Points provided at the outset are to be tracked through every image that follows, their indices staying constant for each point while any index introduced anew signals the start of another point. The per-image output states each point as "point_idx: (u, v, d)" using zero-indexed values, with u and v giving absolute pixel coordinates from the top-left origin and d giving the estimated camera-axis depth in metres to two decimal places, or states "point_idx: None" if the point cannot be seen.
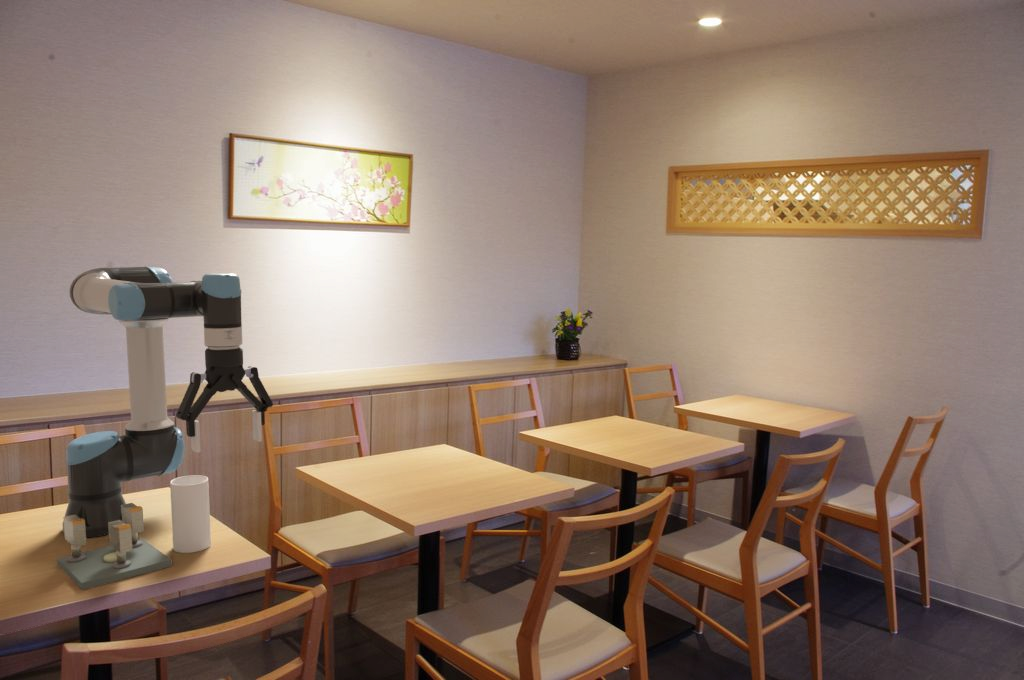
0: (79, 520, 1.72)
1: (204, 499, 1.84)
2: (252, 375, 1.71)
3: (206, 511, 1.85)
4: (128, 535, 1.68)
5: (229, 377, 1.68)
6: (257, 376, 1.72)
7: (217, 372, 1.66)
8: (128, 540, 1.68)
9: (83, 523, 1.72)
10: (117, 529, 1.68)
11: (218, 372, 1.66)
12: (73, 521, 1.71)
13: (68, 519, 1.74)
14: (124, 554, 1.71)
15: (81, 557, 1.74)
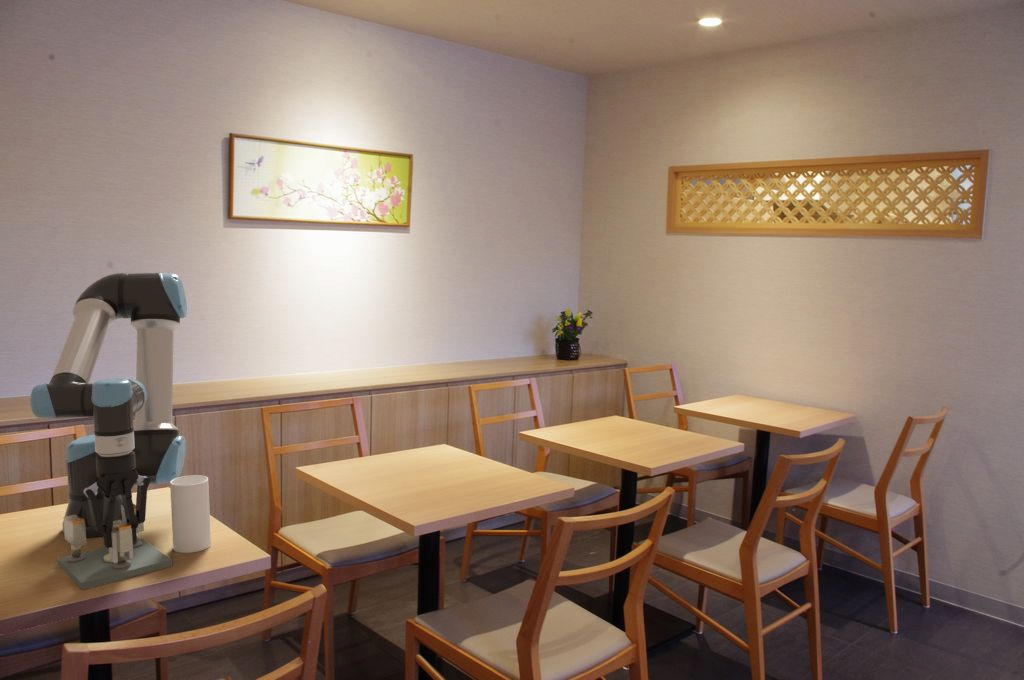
0: (79, 520, 1.72)
1: (204, 499, 1.84)
2: (142, 484, 1.72)
3: (206, 511, 1.85)
4: (128, 535, 1.68)
5: (122, 480, 1.69)
6: (146, 487, 1.73)
7: (105, 477, 1.66)
8: (128, 540, 1.68)
9: (83, 523, 1.72)
10: (117, 529, 1.68)
11: (106, 476, 1.66)
12: (73, 521, 1.71)
13: (68, 519, 1.74)
14: (124, 554, 1.71)
15: (81, 557, 1.74)
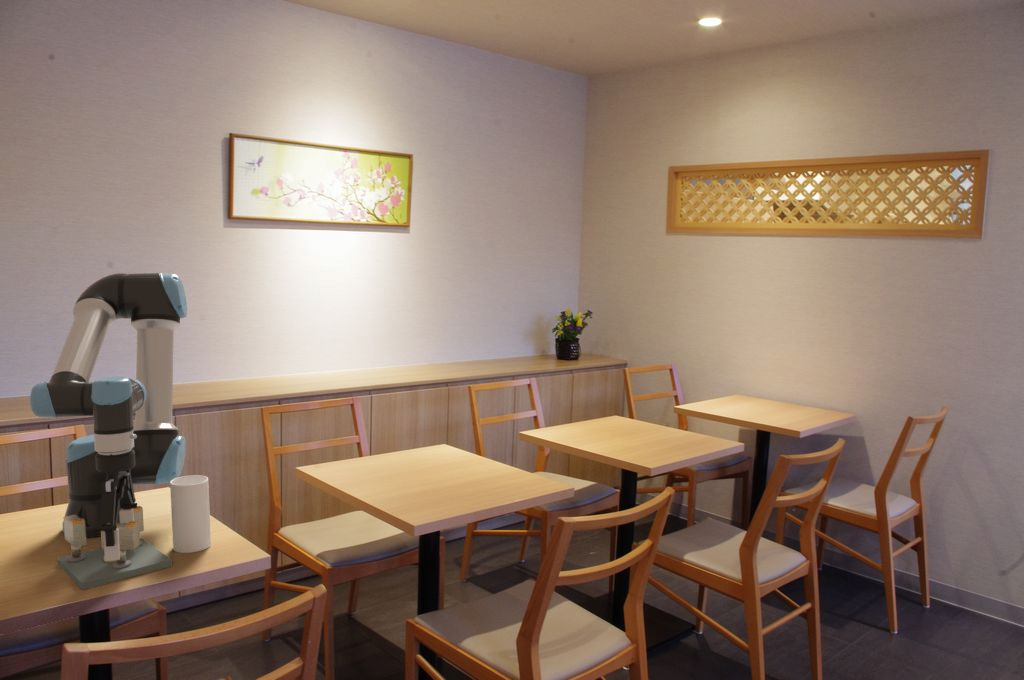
0: (79, 520, 1.72)
1: (204, 499, 1.84)
2: (129, 474, 1.75)
3: (206, 511, 1.85)
4: (137, 531, 1.71)
5: (123, 479, 1.70)
6: (130, 474, 1.76)
7: (119, 476, 1.67)
8: (137, 536, 1.71)
9: (83, 523, 1.72)
10: (127, 527, 1.69)
11: (119, 475, 1.67)
12: (73, 521, 1.71)
13: (68, 519, 1.74)
14: (125, 553, 1.71)
15: (81, 557, 1.74)
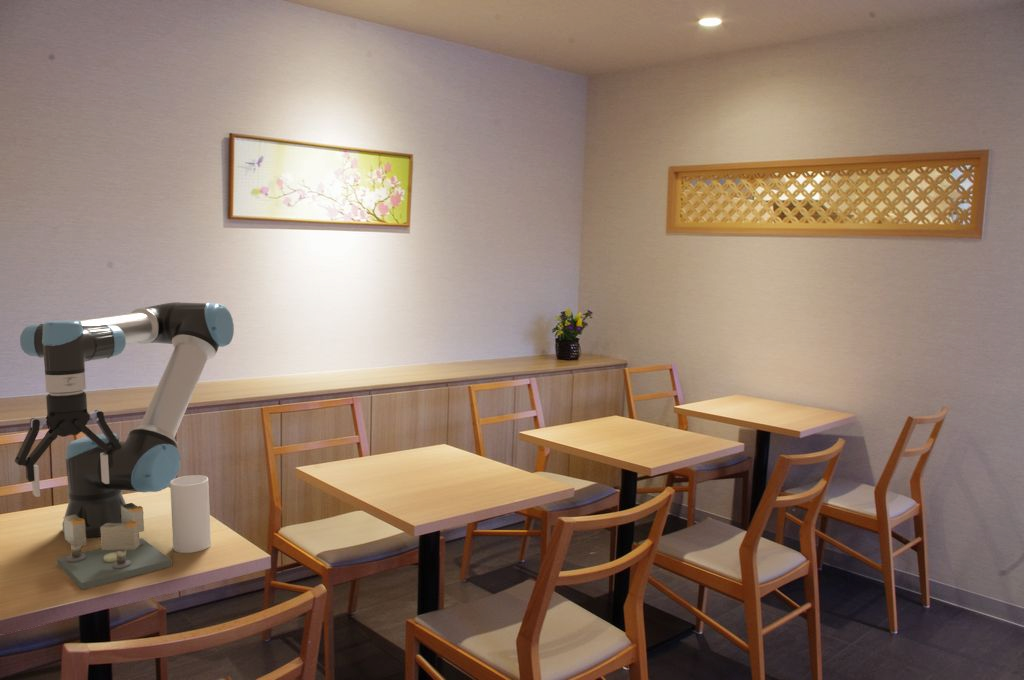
0: (79, 520, 1.72)
1: (204, 499, 1.84)
2: (97, 419, 1.74)
3: (206, 511, 1.85)
4: (137, 530, 1.71)
5: (71, 422, 1.71)
6: (103, 420, 1.75)
7: (58, 417, 1.69)
8: (137, 535, 1.71)
9: (83, 523, 1.72)
10: (128, 527, 1.69)
11: (59, 417, 1.69)
12: (73, 521, 1.71)
13: (68, 519, 1.74)
14: (125, 553, 1.71)
15: (81, 557, 1.74)
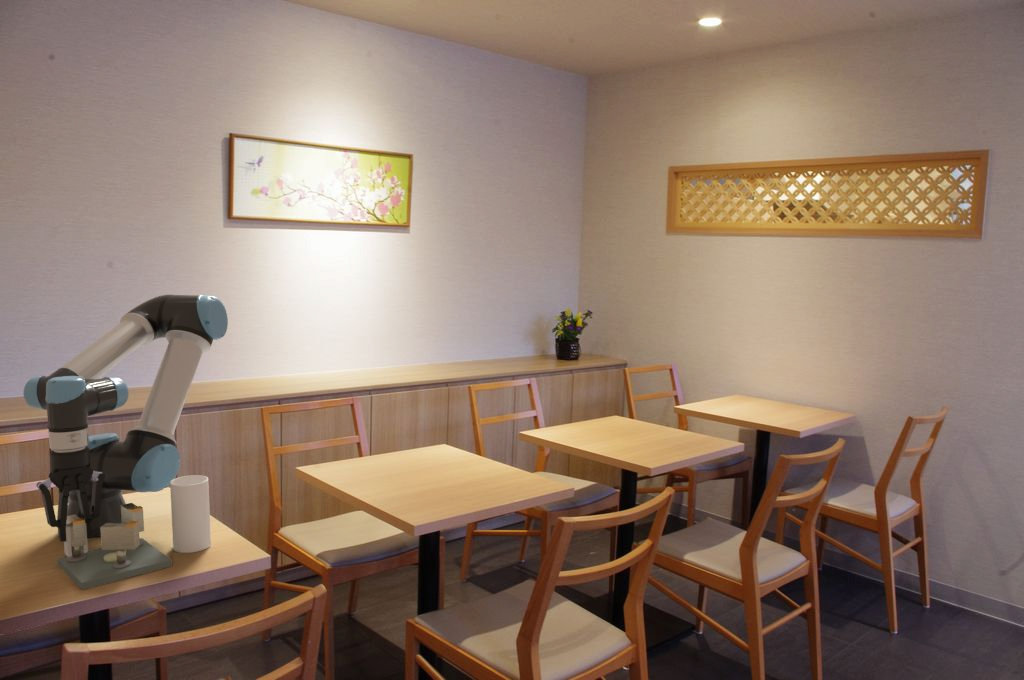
0: (79, 520, 1.72)
1: (204, 499, 1.84)
2: (97, 479, 1.75)
3: (206, 511, 1.85)
4: (137, 530, 1.71)
5: (76, 475, 1.72)
6: (101, 483, 1.76)
7: (58, 472, 1.70)
8: (137, 535, 1.71)
9: (83, 523, 1.72)
10: (128, 527, 1.69)
11: (59, 471, 1.70)
12: (73, 521, 1.71)
13: (68, 519, 1.74)
14: (125, 553, 1.71)
15: (81, 557, 1.74)
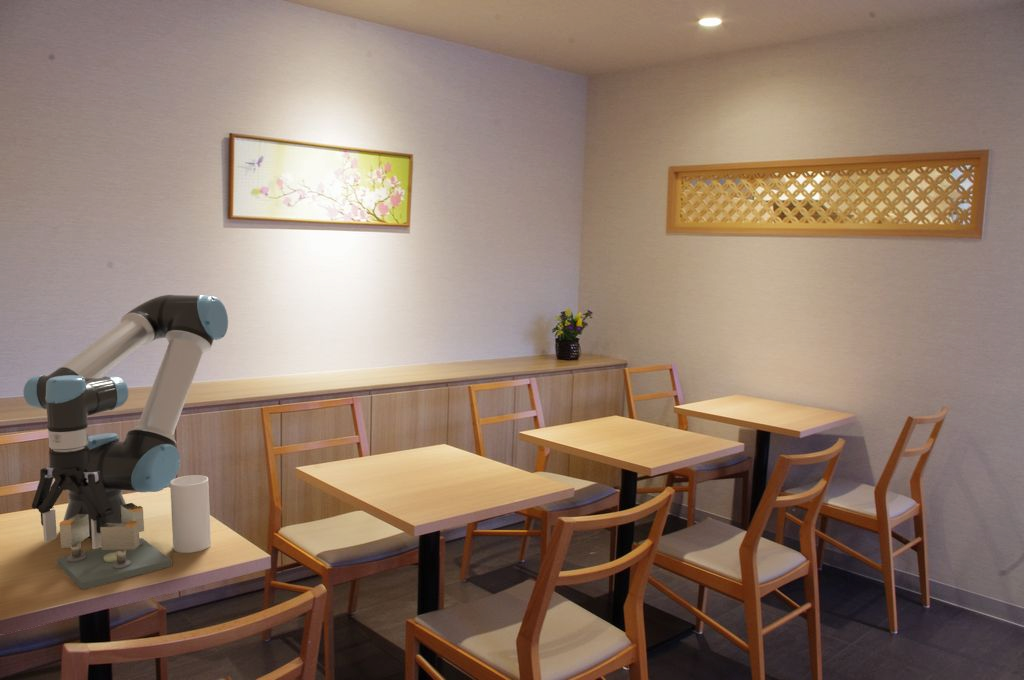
0: (67, 522, 1.71)
1: (204, 499, 1.84)
2: (87, 481, 1.70)
3: (206, 511, 1.85)
4: (137, 530, 1.71)
5: None
6: (91, 483, 1.70)
7: (58, 470, 1.72)
8: (137, 535, 1.71)
9: (69, 526, 1.70)
10: (128, 527, 1.69)
11: (59, 470, 1.72)
12: (62, 521, 1.71)
13: (72, 518, 1.75)
14: (125, 553, 1.71)
15: (81, 557, 1.74)
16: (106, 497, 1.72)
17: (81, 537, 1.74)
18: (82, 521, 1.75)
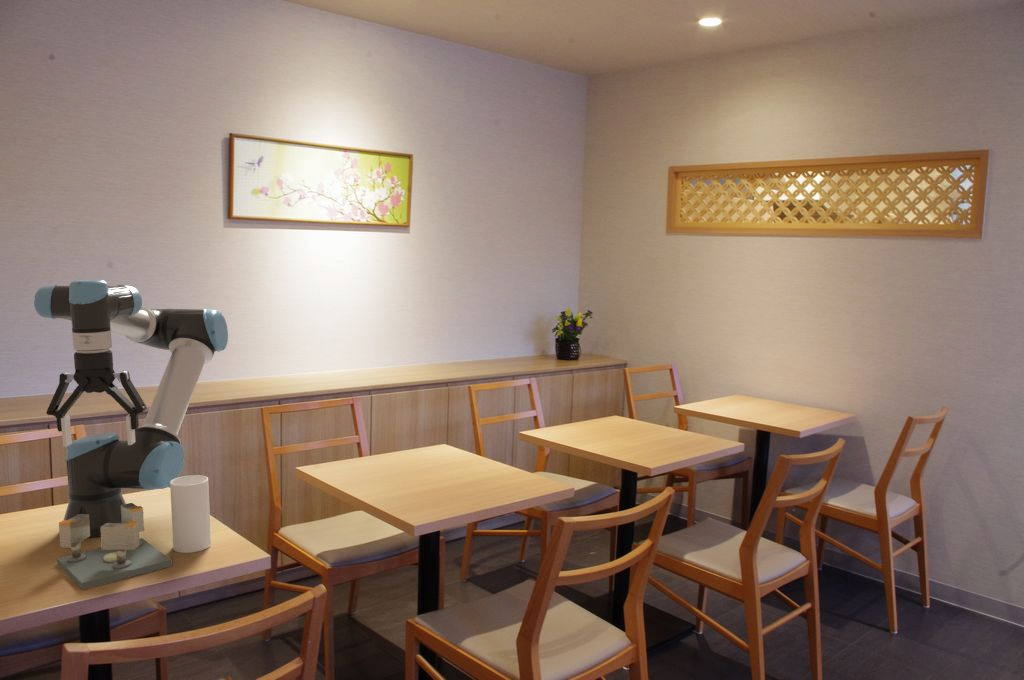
0: (67, 522, 1.71)
1: (204, 499, 1.84)
2: (119, 380, 1.75)
3: (206, 511, 1.85)
4: (137, 531, 1.71)
5: (95, 379, 1.74)
6: (125, 381, 1.75)
7: (82, 374, 1.74)
8: (137, 535, 1.71)
9: (68, 526, 1.70)
10: (128, 527, 1.69)
11: (83, 374, 1.74)
12: (62, 521, 1.71)
13: (72, 518, 1.75)
14: (125, 553, 1.71)
15: (81, 557, 1.74)
16: (138, 394, 1.78)
17: (81, 537, 1.74)
18: (82, 521, 1.75)
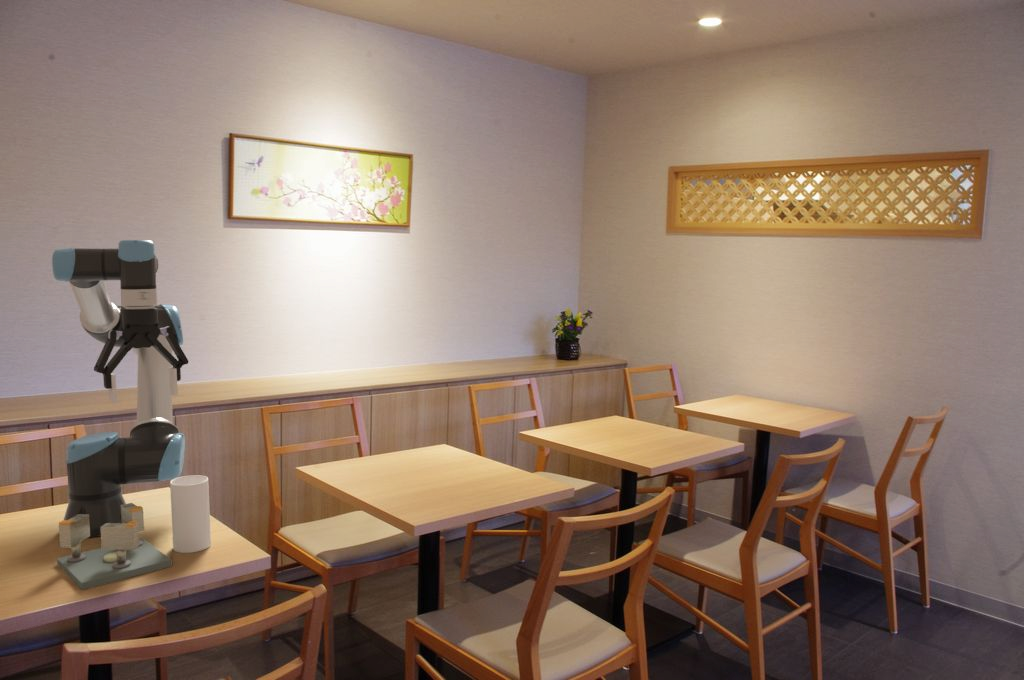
0: (67, 522, 1.71)
1: (204, 499, 1.84)
2: (167, 334, 1.86)
3: (206, 511, 1.85)
4: (137, 531, 1.71)
5: (144, 335, 1.83)
6: (172, 335, 1.87)
7: (133, 330, 1.81)
8: (137, 535, 1.71)
9: (68, 526, 1.70)
10: (128, 527, 1.69)
11: (134, 330, 1.81)
12: (62, 521, 1.71)
13: (72, 518, 1.75)
14: (125, 553, 1.71)
15: (81, 557, 1.74)
16: None
17: (81, 537, 1.74)
18: (82, 521, 1.75)
